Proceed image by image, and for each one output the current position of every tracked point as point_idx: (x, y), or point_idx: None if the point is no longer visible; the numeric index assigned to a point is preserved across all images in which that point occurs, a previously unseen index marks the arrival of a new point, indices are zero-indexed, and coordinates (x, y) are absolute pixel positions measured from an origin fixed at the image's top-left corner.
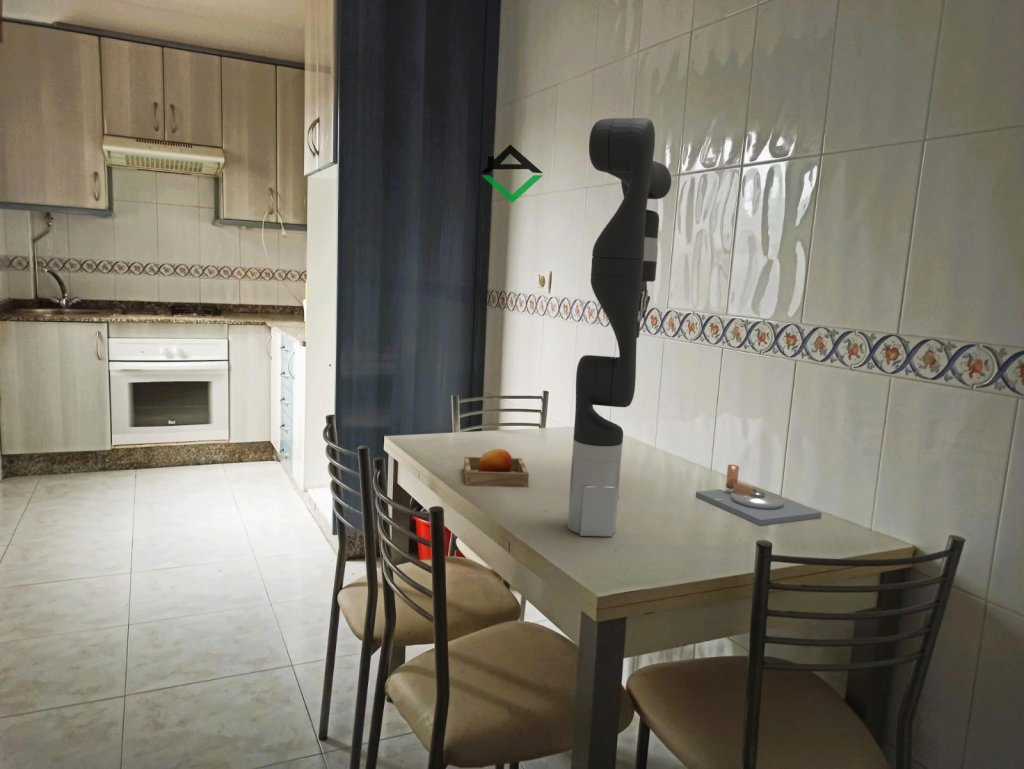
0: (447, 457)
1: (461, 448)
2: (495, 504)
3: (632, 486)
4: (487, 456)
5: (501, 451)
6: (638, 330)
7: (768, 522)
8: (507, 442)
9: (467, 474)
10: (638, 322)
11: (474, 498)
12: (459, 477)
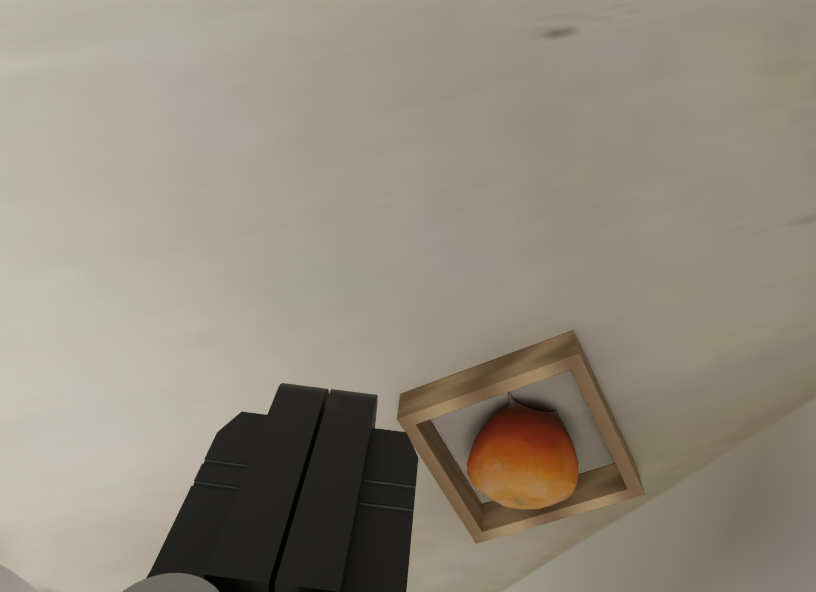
0: None
1: None
2: (793, 356)
3: (377, 15)
4: (570, 493)
5: (546, 475)
6: (322, 456)
7: None
8: (109, 507)
9: (642, 487)
10: (337, 577)
11: (753, 415)
12: None
